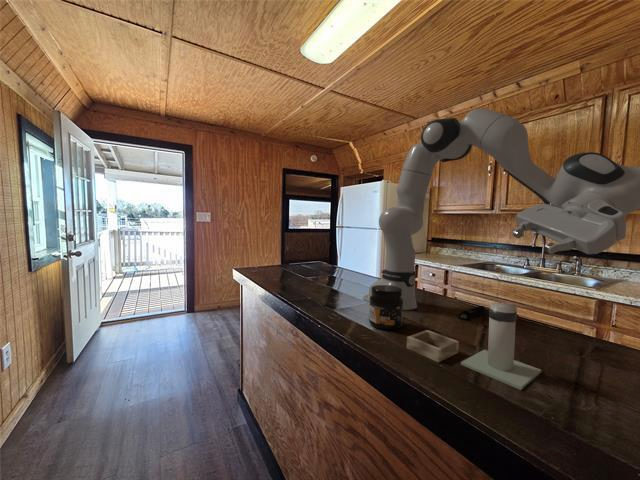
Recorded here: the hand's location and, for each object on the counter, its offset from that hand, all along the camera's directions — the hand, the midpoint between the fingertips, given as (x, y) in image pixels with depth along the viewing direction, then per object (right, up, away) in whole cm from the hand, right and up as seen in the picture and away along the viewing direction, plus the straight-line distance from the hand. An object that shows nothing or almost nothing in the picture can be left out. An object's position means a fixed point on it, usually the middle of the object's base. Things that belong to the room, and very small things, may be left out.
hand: (529, 242), depth 67 cm
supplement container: (-29, -27, +23) cm, 46 cm away
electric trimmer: (+5, -28, +35) cm, 44 cm away
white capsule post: (-9, -28, -3) cm, 30 cm away
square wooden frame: (-21, -28, +5) cm, 36 cm away
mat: (-9, -29, -3) cm, 30 cm away
